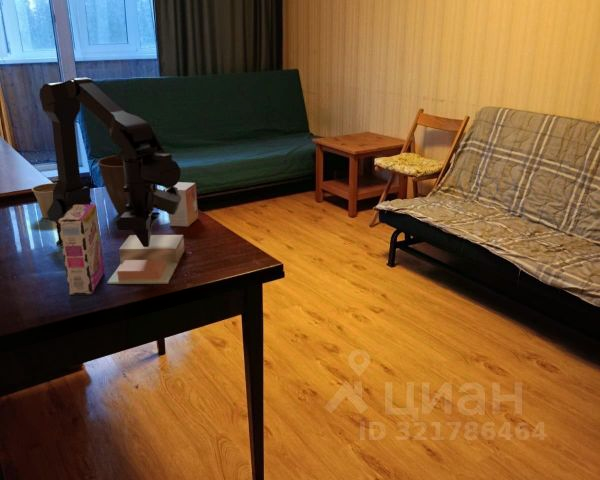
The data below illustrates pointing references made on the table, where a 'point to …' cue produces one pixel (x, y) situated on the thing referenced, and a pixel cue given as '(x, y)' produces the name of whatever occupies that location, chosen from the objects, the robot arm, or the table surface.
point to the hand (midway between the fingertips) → (146, 246)
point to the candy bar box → (81, 248)
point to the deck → (153, 248)
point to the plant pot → (114, 182)
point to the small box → (185, 205)
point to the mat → (163, 280)
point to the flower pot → (44, 197)
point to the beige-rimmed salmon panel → (141, 269)
